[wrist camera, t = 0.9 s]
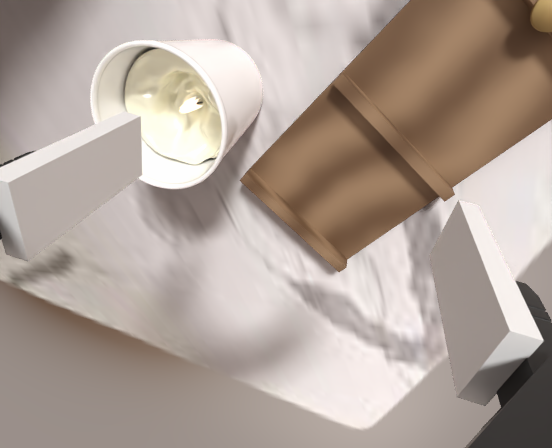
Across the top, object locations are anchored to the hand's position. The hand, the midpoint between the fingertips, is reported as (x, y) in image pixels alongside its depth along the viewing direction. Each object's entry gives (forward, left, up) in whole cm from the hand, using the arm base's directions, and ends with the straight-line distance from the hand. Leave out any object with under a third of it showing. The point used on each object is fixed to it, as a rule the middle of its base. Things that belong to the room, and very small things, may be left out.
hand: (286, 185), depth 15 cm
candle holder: (-8, -7, -21) cm, 23 cm away
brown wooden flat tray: (+6, +1, -20) cm, 21 cm away
